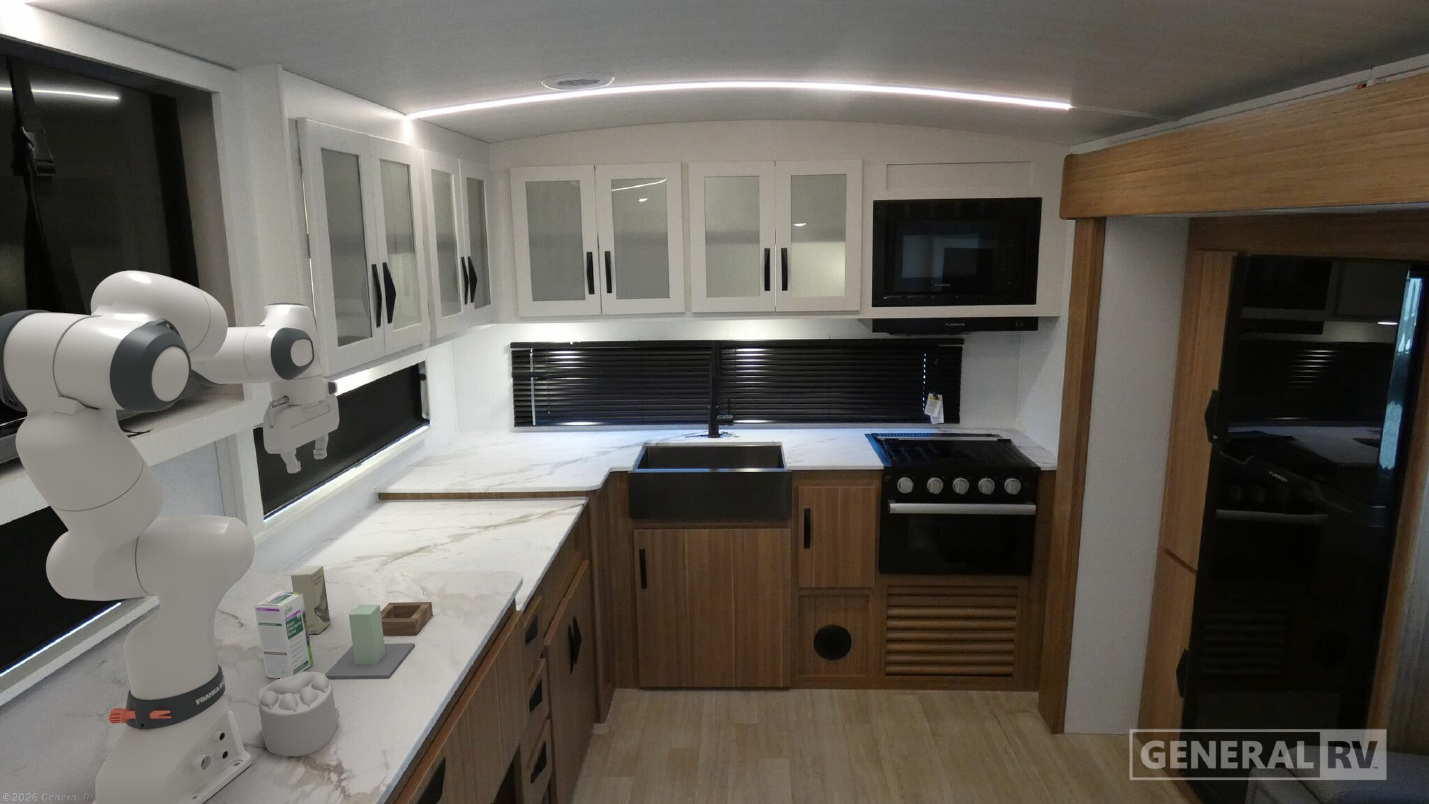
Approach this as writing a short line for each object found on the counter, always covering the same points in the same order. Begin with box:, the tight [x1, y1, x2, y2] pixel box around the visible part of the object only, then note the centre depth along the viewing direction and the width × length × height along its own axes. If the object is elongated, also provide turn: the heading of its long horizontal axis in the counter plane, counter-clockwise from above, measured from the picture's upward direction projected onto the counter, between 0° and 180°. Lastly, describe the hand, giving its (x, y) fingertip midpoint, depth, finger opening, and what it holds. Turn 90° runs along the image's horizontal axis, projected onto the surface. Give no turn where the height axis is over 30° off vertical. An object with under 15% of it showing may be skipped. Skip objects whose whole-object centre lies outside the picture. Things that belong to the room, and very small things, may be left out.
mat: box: [324, 642, 416, 680], centre depth 155 cm, size 12×12×1 cm
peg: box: [348, 604, 385, 665], centre depth 154 cm, size 4×4×10 cm
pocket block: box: [380, 601, 434, 637], centre depth 170 cm, size 9×9×3 cm
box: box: [290, 565, 331, 635], centre depth 169 cm, size 5×4×13 cm
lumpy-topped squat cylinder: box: [257, 671, 338, 758], centre depth 132 cm, size 10×13×9 cm
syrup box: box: [253, 591, 314, 679], centre depth 152 cm, size 6×6×14 cm
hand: (308, 465), depth 154 cm, fingers open, 8 cm apart
